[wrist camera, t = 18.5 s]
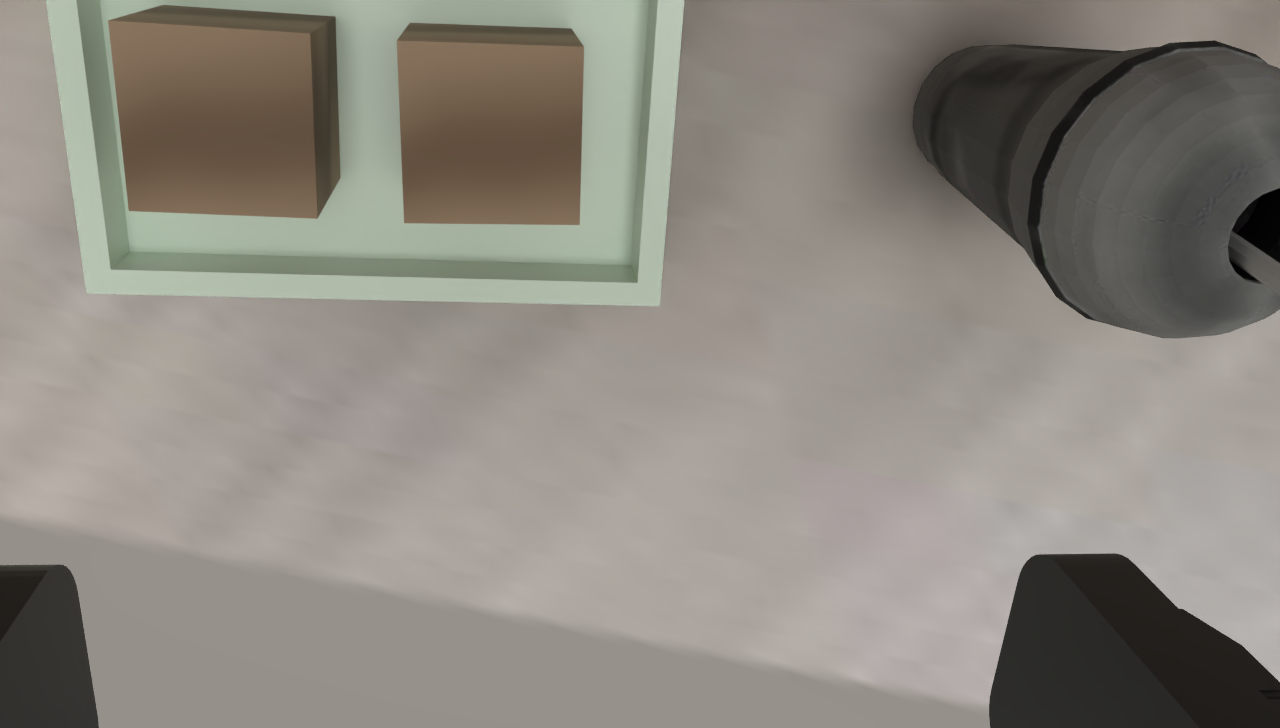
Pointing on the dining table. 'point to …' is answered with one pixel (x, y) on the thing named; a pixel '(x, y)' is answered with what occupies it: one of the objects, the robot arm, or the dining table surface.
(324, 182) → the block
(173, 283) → the tray
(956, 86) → the beverage cup
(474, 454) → the dining table surface
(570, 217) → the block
